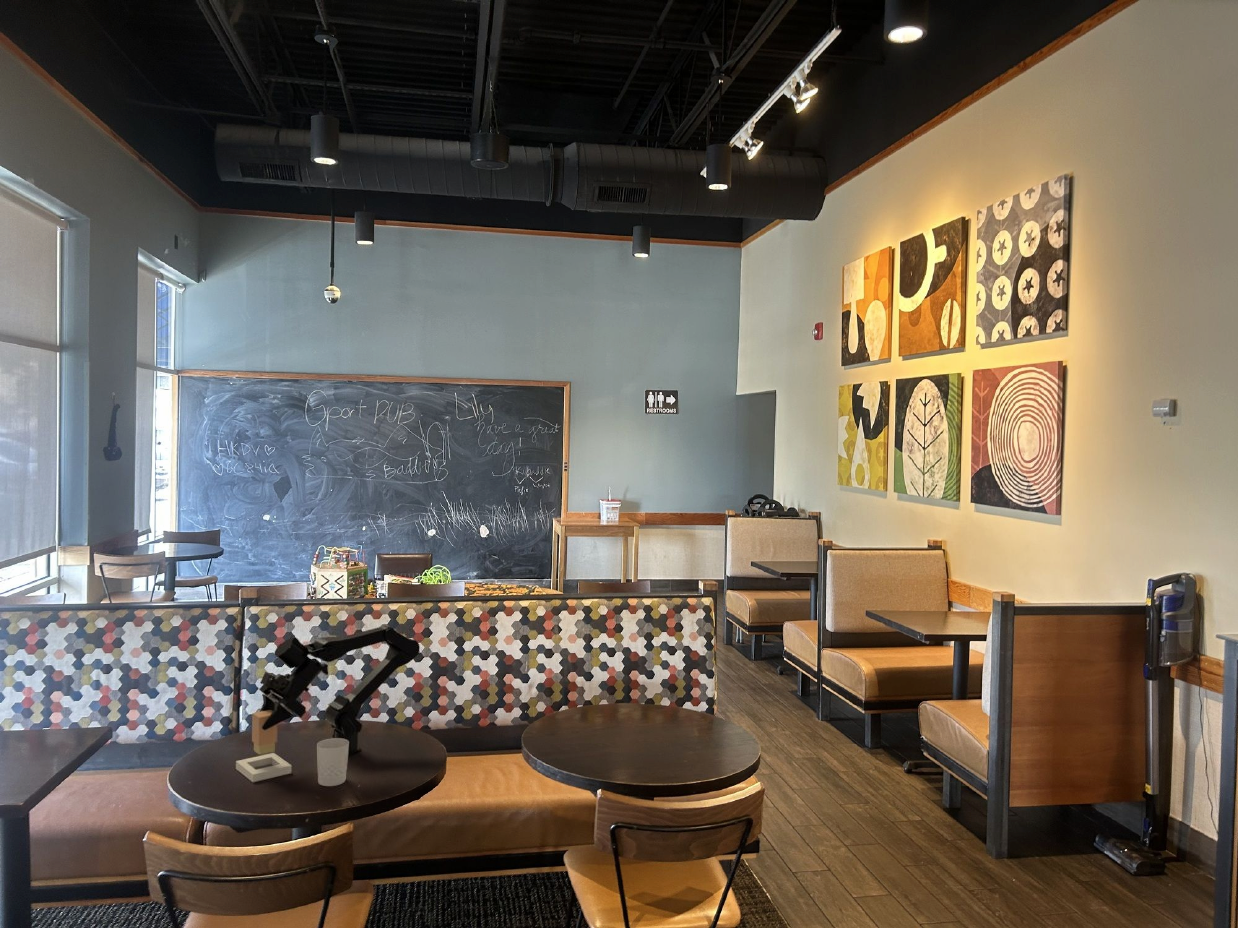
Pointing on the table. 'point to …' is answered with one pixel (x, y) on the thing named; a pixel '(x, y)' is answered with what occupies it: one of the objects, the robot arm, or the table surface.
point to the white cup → (332, 761)
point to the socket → (263, 767)
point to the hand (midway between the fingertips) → (259, 726)
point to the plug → (263, 733)
